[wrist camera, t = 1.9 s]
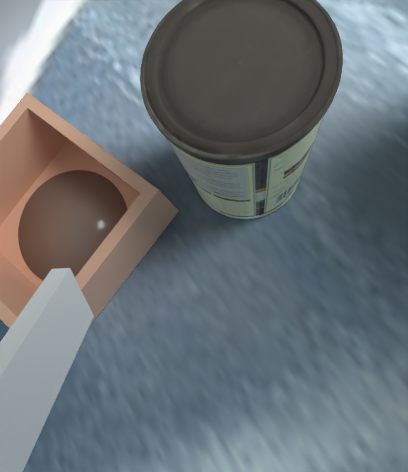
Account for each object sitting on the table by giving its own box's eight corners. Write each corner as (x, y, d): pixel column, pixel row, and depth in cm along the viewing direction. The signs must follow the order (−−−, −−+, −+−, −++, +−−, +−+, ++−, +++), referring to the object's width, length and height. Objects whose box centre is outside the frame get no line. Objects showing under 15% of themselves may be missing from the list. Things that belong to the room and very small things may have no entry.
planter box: (70, 129, 34) (27, 92, 27) (179, 210, 30) (158, 189, 24) (-21, 243, 33) (-86, 232, 27) (80, 339, 30) (33, 352, 23)
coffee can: (209, 106, 32) (174, -36, 18) (315, 128, 30) (367, -12, 16) (176, 203, 30) (112, 132, 17) (284, 234, 28) (310, 181, 15)
